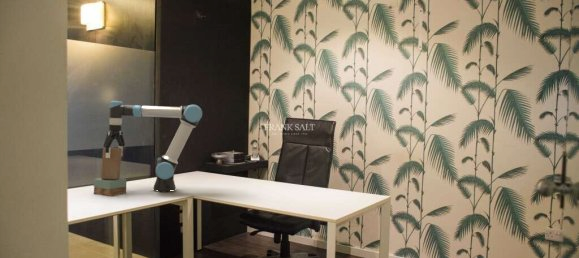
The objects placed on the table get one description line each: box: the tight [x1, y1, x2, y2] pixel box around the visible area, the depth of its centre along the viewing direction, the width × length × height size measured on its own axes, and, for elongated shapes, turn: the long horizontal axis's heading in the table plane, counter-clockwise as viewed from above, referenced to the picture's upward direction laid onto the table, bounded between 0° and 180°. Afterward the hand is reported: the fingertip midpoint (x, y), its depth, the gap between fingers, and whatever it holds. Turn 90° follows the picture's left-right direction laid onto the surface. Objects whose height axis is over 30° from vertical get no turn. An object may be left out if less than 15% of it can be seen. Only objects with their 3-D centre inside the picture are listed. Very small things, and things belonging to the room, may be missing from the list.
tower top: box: [93, 177, 128, 189], centre depth 281 cm, size 14×14×5 cm
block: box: [100, 147, 123, 180], centre depth 281 cm, size 10×10×20 cm
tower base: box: [93, 186, 127, 197], centre depth 281 cm, size 14×14×5 cm
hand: (114, 156), depth 282 cm, fingers open, 13 cm apart
